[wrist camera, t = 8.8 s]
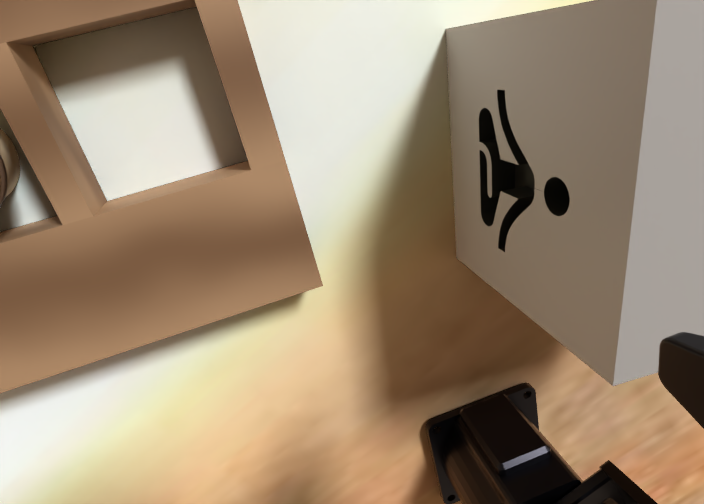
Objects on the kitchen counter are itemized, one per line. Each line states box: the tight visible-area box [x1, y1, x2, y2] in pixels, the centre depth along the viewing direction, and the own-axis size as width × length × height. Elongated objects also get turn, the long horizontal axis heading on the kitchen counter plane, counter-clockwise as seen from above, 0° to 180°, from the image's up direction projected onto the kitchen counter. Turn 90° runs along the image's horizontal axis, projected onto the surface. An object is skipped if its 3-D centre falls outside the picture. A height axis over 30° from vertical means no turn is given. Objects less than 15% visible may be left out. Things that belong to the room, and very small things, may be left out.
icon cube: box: [446, 0, 704, 386], centre depth 17 cm, size 10×10×10 cm
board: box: [0, 0, 323, 393], centre depth 16 cm, size 13×15×2 cm
